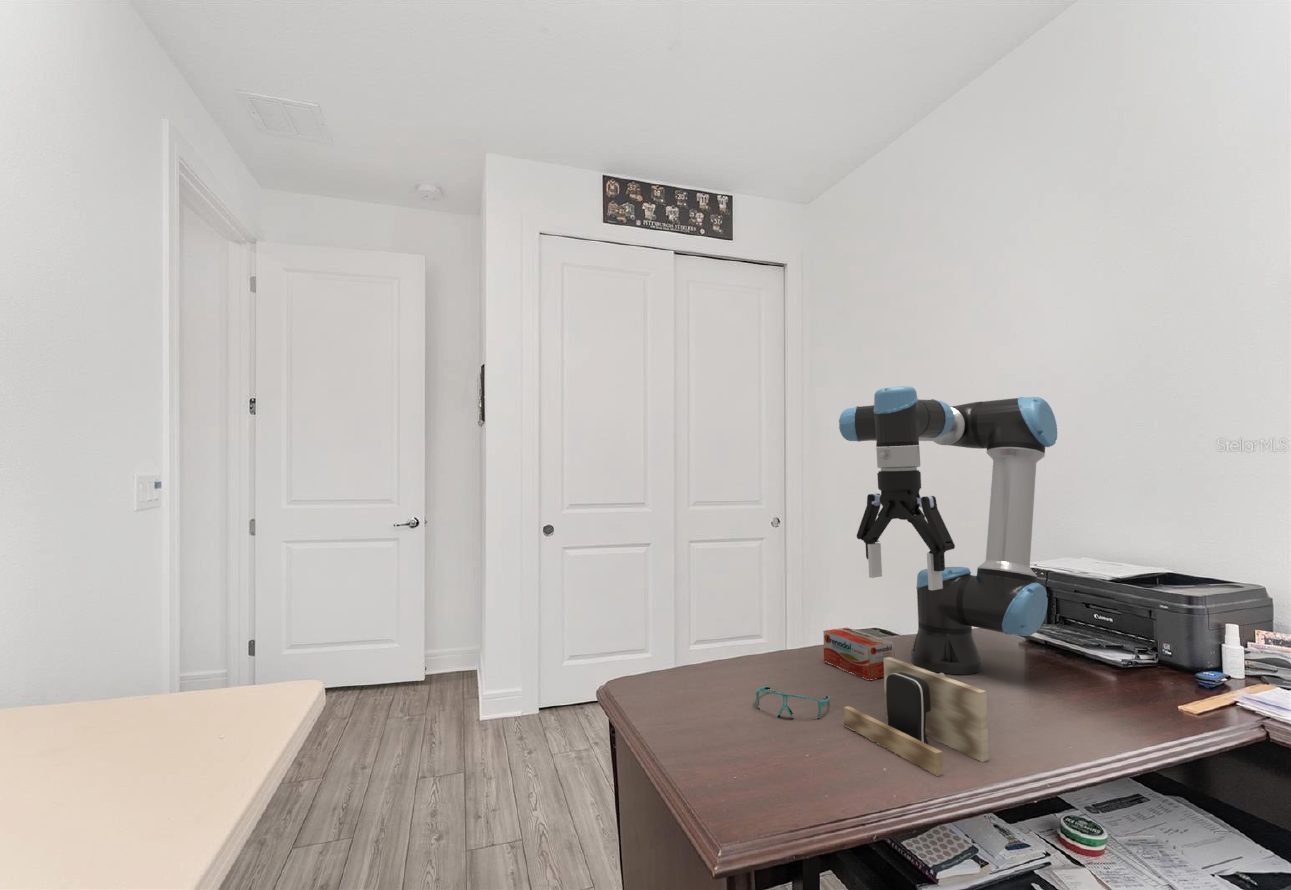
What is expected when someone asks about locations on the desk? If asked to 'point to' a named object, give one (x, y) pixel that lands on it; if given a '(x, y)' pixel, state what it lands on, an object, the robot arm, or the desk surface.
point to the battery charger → (908, 704)
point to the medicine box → (857, 652)
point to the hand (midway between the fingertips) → (904, 582)
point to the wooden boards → (932, 720)
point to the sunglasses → (765, 688)
